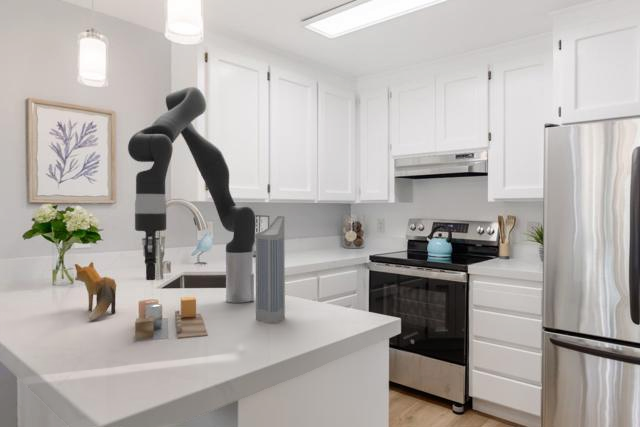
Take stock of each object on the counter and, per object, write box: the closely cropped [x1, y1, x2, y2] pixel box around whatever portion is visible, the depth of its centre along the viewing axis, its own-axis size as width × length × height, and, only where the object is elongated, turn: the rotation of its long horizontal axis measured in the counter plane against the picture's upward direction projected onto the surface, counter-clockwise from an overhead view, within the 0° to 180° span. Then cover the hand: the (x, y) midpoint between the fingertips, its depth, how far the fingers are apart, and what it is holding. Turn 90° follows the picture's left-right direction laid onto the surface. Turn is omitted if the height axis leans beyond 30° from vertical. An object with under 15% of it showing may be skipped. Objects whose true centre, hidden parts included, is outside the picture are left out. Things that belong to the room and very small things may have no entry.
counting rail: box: [174, 310, 209, 339], centre depth 116 cm, size 23×7×3 cm, turn 20°
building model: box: [254, 215, 286, 325], centre depth 126 cm, size 8×8×30 cm
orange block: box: [180, 296, 197, 318], centre depth 124 cm, size 4×4×5 cm
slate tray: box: [132, 317, 170, 343], centre depth 113 cm, size 8×21×1 cm, turn 20°
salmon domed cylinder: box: [138, 298, 159, 318], centre depth 118 cm, size 5×5×6 cm
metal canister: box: [146, 303, 163, 330], centre depth 113 cm, size 4×4×6 cm
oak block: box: [134, 317, 154, 339], centre depth 106 cm, size 4×4×4 cm
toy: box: [74, 261, 117, 321], centre depth 133 cm, size 11×29×15 cm, turn 43°
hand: (150, 279), depth 111 cm, fingers closed
